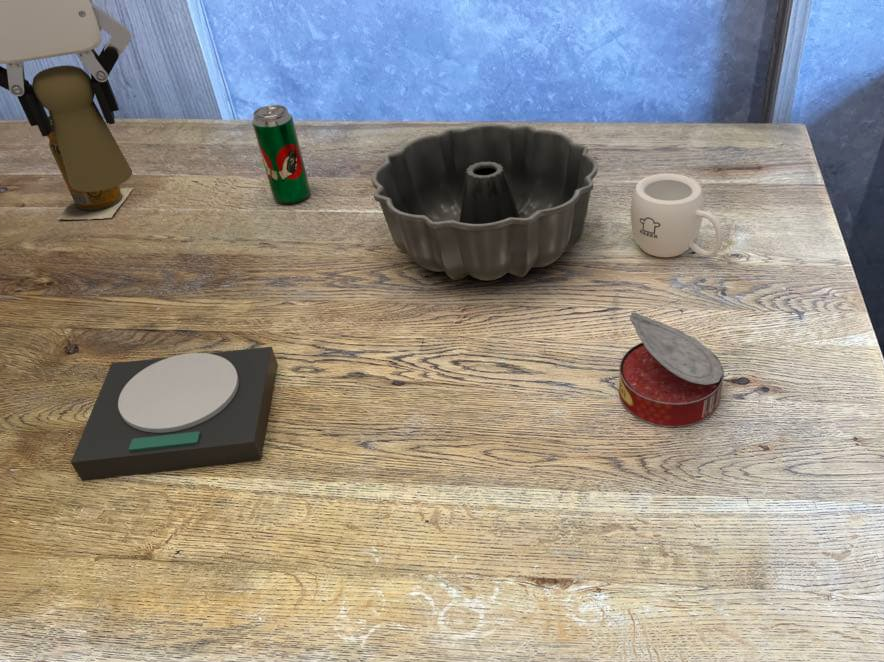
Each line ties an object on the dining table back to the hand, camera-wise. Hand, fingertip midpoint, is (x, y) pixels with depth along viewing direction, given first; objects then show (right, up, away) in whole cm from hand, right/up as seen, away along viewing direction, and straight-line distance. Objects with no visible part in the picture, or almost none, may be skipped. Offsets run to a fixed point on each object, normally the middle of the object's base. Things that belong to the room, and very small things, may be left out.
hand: (78, 123), depth 80 cm
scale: (+11, -29, -1) cm, 31 cm away
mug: (+62, -9, +18) cm, 65 cm away
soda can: (+11, +1, +32) cm, 34 cm away
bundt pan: (+39, -8, +21) cm, 45 cm away
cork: (0, -4, +4) cm, 6 cm away
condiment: (-16, 0, +32) cm, 36 cm away
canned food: (+58, -27, 0) cm, 64 cm away
